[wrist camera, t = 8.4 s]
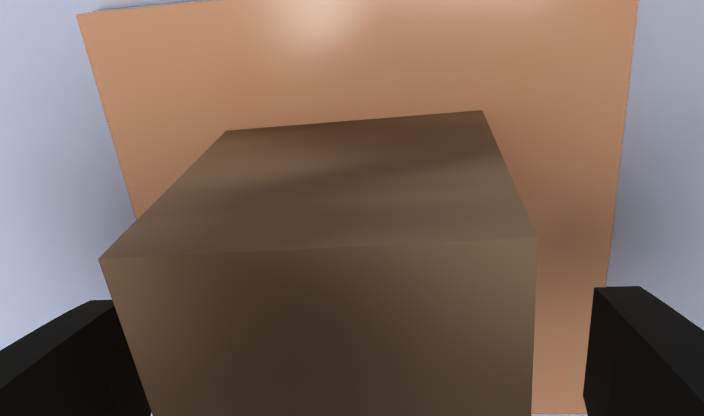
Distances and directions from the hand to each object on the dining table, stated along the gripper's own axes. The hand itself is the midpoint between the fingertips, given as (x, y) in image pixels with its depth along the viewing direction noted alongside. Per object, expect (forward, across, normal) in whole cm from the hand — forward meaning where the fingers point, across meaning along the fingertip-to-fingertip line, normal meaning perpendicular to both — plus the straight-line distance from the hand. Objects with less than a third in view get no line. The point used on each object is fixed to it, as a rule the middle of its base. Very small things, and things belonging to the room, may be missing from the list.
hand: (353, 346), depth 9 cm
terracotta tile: (+4, 0, 0) cm, 4 cm away
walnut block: (+3, 0, 0) cm, 4 cm away
